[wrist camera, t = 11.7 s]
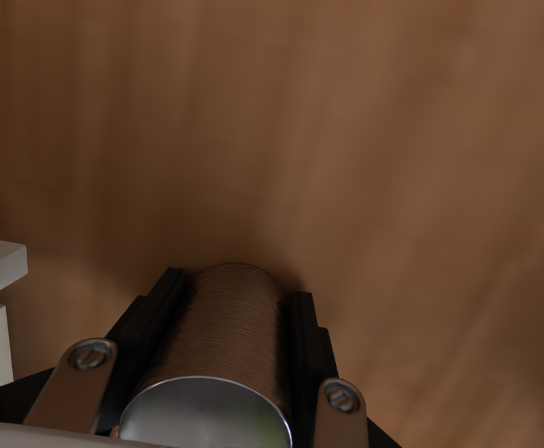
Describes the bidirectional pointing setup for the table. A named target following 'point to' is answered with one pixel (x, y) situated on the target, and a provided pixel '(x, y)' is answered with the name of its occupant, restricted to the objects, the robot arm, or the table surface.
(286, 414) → the cylinder
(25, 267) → the drawer
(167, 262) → the table surface
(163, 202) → the table surface
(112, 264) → the table surface
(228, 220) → the table surface
